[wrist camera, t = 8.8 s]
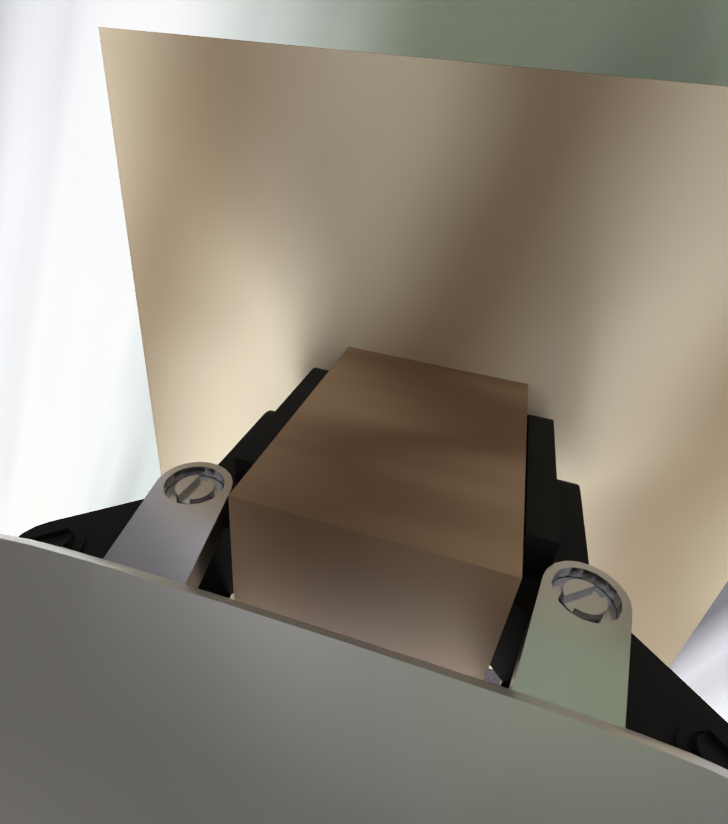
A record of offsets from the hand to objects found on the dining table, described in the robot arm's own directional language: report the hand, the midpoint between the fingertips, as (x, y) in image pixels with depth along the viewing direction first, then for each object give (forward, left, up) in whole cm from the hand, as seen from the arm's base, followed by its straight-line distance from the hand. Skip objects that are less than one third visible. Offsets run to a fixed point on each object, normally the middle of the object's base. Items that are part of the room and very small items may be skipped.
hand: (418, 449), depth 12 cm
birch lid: (0, 0, -1) cm, 1 cm away
